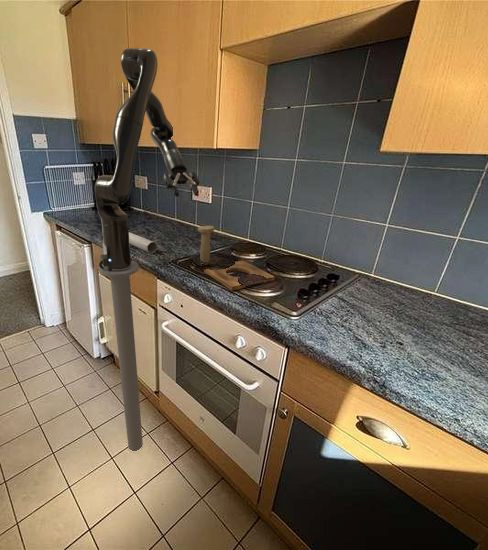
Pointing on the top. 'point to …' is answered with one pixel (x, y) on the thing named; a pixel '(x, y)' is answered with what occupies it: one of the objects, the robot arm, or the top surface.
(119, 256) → the robot arm
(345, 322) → the top surface
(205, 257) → the handle
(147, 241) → the tube
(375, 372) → the top surface
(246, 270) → the base pad
